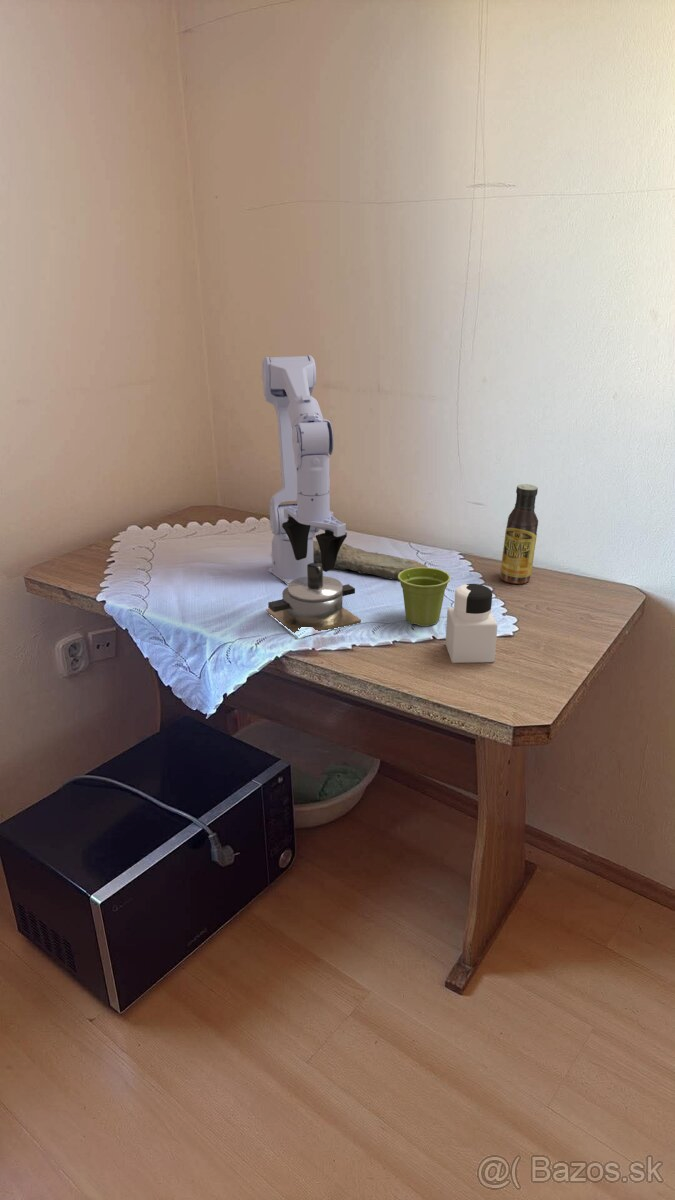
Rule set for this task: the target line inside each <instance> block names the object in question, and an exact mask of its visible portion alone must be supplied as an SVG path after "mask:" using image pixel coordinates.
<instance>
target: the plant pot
mask: <svg viewBox="0 0 675 1200" xmlns="http://www.w3.org/2000/svg"><path fill="white" fill-rule="evenodd" d="M427 567H428V566H427ZM427 567H417V568H409V569H406V570H404V571H401V572H400V573H399V574H398V579H399V580H398V581H399V582H400V586H401V588H402V595H403V597H402V598H403V605H404V614H405V619H406V622H408V623H409V622H410V624H411V625H414V624H415V625H418V626H419V627H428V626H433V625H436V624H437V623H438V622H439V621H440V617H441V613H442V607H443V602H444V596H445V591H446V589H447V588H448V584H449V583H450V582H451V575H450V574H449V573H448V572H447V571H444V570H442V569H439V568H434V567H428V568H427Z"/></svg>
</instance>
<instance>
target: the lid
mask: <svg viewBox="0 0 675 1200" xmlns="http://www.w3.org/2000/svg"><path fill="white" fill-rule="evenodd" d="M287 587H288V594H289V596H290V597H291V598H293V599H295V600H298V601H302V602H308V603H321V602H328V601H332V600H334V599H337V598H338V597H340V596H341V595H342V593H343V583H342V582H341V581H340V580H338V579H337V578H334V577H331V576H325V575H324V571H323V569H322V564H320V563H310V564H308V565H307V576H306V577H301V578H297V579H295V580H293V581H291V582H290V583H289V584H287Z"/></svg>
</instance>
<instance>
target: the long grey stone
mask: <svg viewBox="0 0 675 1200" xmlns="http://www.w3.org/2000/svg"><path fill="white" fill-rule="evenodd" d="M313 557H314V563H320V564H322V561H321V552H320V547H319V544H318V542H317V540H313ZM417 567H427V568H429V567H428V566H427V565H425V564H423V563H421V562H419V561H417V560H415V559H411V558H403V557H398V556H393V555H390V554H384V553H377V552H370V551H366V550H363V549H361V548H357V547H353V546H351V545H348V544H347V543H344V542H343V543H342V545H341V547H340V549H339V552H338V555H337V558H336V562H335V566H334V569H333V570H335V569H336V570H340V571H342V570H351V571H354V572H358V573H359V574H369V575H373V576H378V577H380V578H385V579H391V580H393V579H397V580H396V581H399V579H398V574H399V573H400V572H401V571H404V570H406V569H409V568H417Z"/></svg>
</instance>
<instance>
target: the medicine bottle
mask: <svg viewBox="0 0 675 1200" xmlns="http://www.w3.org/2000/svg"><path fill="white" fill-rule="evenodd" d="M453 603H454V604H453V606H452V607H451V606H450V607H447V610H446V611H447V613H446V628H445V646H446V649H447V652H448V654H449V658H450V660H451V663H452V664H466V663H470V664H471V663H472V664H474V663H477V664H478V663H494V662H495V658H496V647H497V635H498V622H497V620H496V618H495V616H494V615H493V612H492V603H493V591H492V590H491V588H489V587H487V586H486V585H483V584H480V583H466V584H462V585H459V586H458V587H456V588H455V590H454V602H453Z"/></svg>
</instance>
